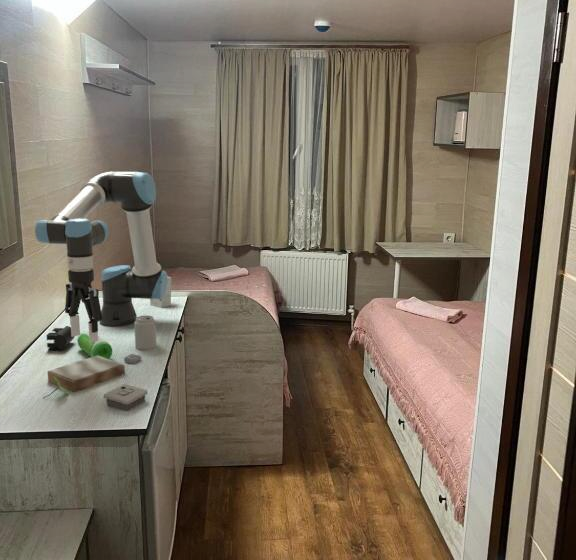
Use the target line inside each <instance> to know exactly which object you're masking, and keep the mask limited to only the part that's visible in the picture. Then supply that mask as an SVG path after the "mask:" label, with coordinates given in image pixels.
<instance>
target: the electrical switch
mask: <svg viewBox="0 0 576 560" xmlns="http://www.w3.org/2000/svg"><path fill="white" fill-rule="evenodd" d="M148 394H149V393H148V389H145V388H141V387H136V386H134V385H130V384H126V383H125V384H122V385H120V386H117V387H116V388H114V389H112V390H110V391H108V392H106V393H104V394H103V398H104V399H106V401H105V402H106V406H107V407H110V408H113V409H116V410H121V411H125V412H129V411H131V410H132V409H133V408H135V407H137V406H139V405H141V404H142V403H144V402H145V401H146V396H147V395H148ZM140 403H141V404H140Z"/></svg>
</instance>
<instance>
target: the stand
mask: <svg viewBox="0 0 576 560" xmlns="http://www.w3.org/2000/svg"><path fill="white" fill-rule="evenodd" d="M125 370H126V369H125V364H123V363H120V362H117V361H114V360H112V359H110V358H109V359H106V358H104V357H101V356H98V355H97V356H94V357H91V356H90V357H88V358H85V359H81V360H77V361H75V362H72V363H69V364H66V365H65V364H64V365H63V366H60V367H55V368H53V369H50V370H47V382H48V383H50V384H53V385H55V386H57V387H59V386H58V384H57V383H56V381H55V379H54V377H56V378H57V379H58V381H59V382H60V384H61V387H63V388H65V389H66V390H67V391H68V392H71V393H73V394H75V393H79V392H81V391H83V390H86V389H88V388H92V387H94V386H97V385H98V384H101V383H104V382H107V381H109V380H111V379H115V378H117V377H120V376H122V374H123V375H125V373H126V371H125Z"/></svg>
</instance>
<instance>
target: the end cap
mask: <svg viewBox="0 0 576 560" xmlns="http://www.w3.org/2000/svg"><path fill="white" fill-rule="evenodd" d="M75 337H76V336H74V337H72V336H71V326H69V325H65V326H64V327H55V328H53V329H52V332H49V333H47V334H46V340H47V341H52V342H47V343H46V347H47V348H48V349H47V351H48V352H61V351H63V350H64V349H65V348H66V347H67V346H68V345H69V344H70V343H71V342H72V341H73V340H74V338H75Z"/></svg>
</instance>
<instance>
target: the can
mask: <svg viewBox="0 0 576 560" xmlns="http://www.w3.org/2000/svg"><path fill="white" fill-rule="evenodd" d="M133 324H134V344H135V349H137V350H140V351H142V350H143V351H148V350H151V349H155V348H156V347H157V325H156V320H155V319H154V316H151V315H139V316H137V318H136V321H135V322H134V323H133Z"/></svg>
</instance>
